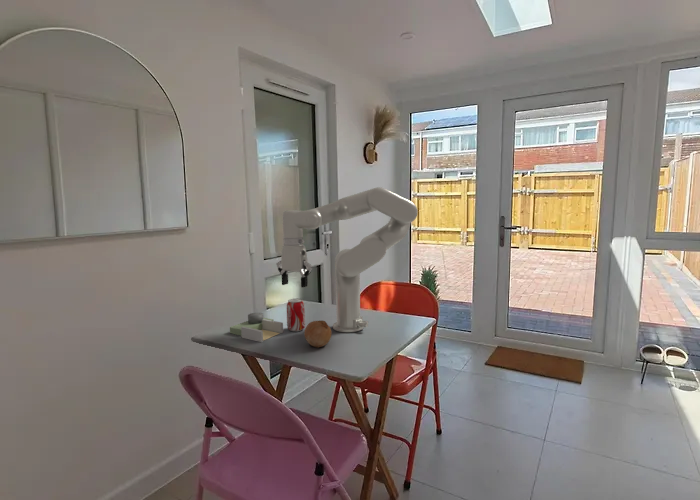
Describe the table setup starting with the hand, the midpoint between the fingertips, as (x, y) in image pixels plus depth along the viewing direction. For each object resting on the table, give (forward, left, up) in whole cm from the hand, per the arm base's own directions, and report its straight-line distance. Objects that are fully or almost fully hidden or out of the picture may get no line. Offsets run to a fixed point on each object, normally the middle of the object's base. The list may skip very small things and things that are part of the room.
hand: (294, 285), depth 153 cm
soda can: (0, 0, -18) cm, 18 cm away
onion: (-18, +10, -18) cm, 27 cm away
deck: (+11, +9, -18) cm, 23 cm away
